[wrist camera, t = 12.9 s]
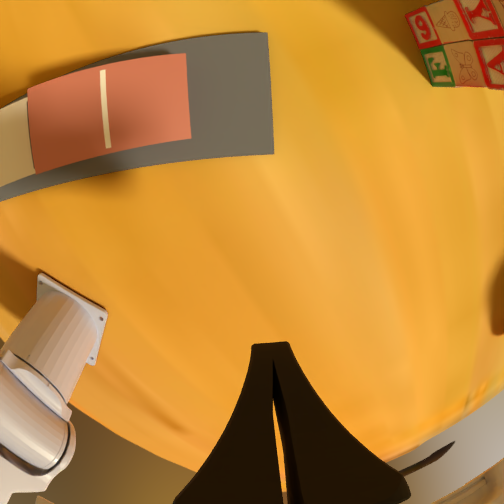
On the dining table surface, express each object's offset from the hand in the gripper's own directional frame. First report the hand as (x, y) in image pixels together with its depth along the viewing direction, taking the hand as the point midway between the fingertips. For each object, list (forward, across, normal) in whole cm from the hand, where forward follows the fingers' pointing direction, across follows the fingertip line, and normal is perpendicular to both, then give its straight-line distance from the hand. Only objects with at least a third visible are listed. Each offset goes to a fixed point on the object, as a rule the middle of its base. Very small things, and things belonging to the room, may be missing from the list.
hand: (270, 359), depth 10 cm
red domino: (+9, +4, -10) cm, 14 cm away
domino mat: (+10, +13, -10) cm, 19 cm away
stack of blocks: (+11, -23, -18) cm, 31 cm away
